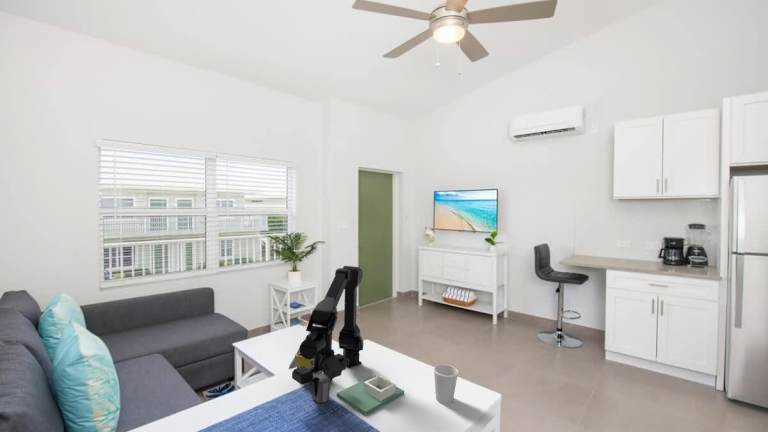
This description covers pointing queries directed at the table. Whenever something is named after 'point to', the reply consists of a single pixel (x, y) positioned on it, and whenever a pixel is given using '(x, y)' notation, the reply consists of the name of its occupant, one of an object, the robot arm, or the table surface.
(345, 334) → the robot arm
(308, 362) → the flower pot
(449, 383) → the dixie cup
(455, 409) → the table surface
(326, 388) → the plug
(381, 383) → the board
